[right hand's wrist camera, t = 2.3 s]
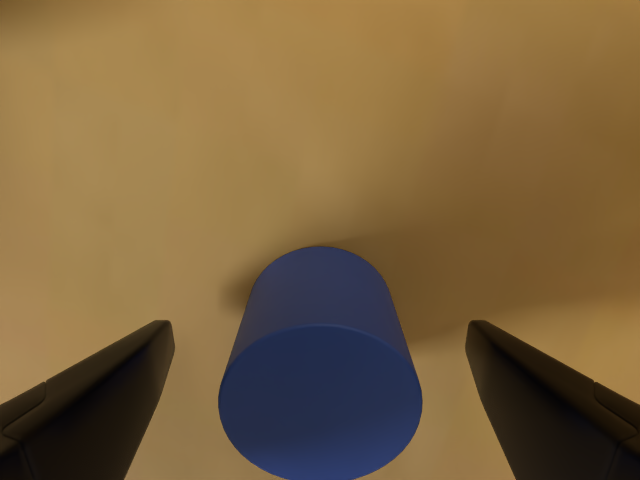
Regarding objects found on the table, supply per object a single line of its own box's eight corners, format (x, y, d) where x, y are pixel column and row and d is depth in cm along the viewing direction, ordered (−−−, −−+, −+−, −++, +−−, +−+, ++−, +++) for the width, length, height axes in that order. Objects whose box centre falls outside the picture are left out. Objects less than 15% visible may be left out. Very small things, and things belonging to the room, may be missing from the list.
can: (256, 235, 12) (225, 310, 8) (406, 257, 12) (447, 340, 8) (242, 360, 13) (211, 474, 9) (375, 377, 13) (397, 494, 10)
